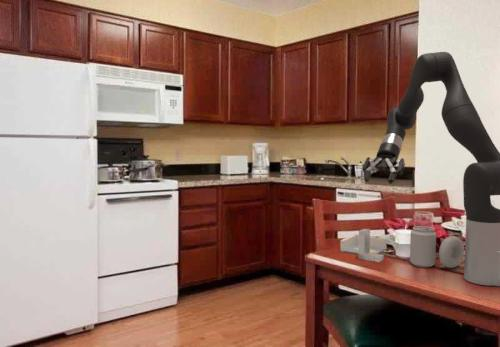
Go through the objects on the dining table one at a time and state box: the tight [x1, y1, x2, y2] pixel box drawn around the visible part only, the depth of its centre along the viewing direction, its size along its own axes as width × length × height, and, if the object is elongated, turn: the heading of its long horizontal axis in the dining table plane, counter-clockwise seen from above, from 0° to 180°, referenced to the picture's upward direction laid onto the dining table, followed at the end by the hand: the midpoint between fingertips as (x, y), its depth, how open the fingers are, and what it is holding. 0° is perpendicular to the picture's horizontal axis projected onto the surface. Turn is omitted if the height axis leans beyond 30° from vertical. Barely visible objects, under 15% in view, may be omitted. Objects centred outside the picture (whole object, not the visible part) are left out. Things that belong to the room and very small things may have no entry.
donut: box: [438, 235, 465, 269], centre depth 130 cm, size 10×4×10 cm, turn 121°
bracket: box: [358, 228, 385, 263], centre depth 141 cm, size 7×4×10 cm, turn 52°
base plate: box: [343, 245, 386, 255], centre depth 151 cm, size 11×11×1 cm
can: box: [409, 225, 437, 268], centre depth 134 cm, size 8×8×12 cm
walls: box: [339, 234, 388, 253], centre depth 152 cm, size 12×12×4 cm
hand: (377, 181), depth 150 cm, fingers open, 8 cm apart
